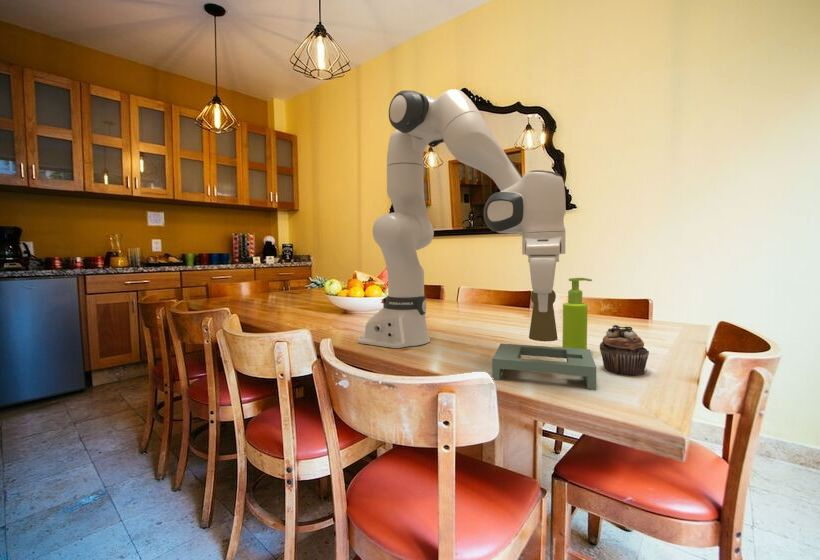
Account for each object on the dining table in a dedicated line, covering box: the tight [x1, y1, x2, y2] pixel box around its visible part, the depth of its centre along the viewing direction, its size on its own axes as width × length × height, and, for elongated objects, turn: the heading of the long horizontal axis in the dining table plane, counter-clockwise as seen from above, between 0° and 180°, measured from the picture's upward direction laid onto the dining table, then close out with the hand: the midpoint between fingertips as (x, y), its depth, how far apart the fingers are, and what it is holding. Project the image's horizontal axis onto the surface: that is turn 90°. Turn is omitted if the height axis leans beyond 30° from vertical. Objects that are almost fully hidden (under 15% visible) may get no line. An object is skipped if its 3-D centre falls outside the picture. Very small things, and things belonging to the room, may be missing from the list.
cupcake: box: [599, 324, 650, 377], centre depth 84 cm, size 10×10×10 cm
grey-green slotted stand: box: [491, 342, 597, 391], centre depth 83 cm, size 20×14×4 cm
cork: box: [528, 290, 559, 342], centre depth 82 cm, size 6×6×11 cm
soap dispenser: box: [562, 277, 593, 349], centre depth 98 cm, size 6×7×20 cm
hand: (543, 309), depth 82 cm, fingers closed on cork, 4 cm apart
